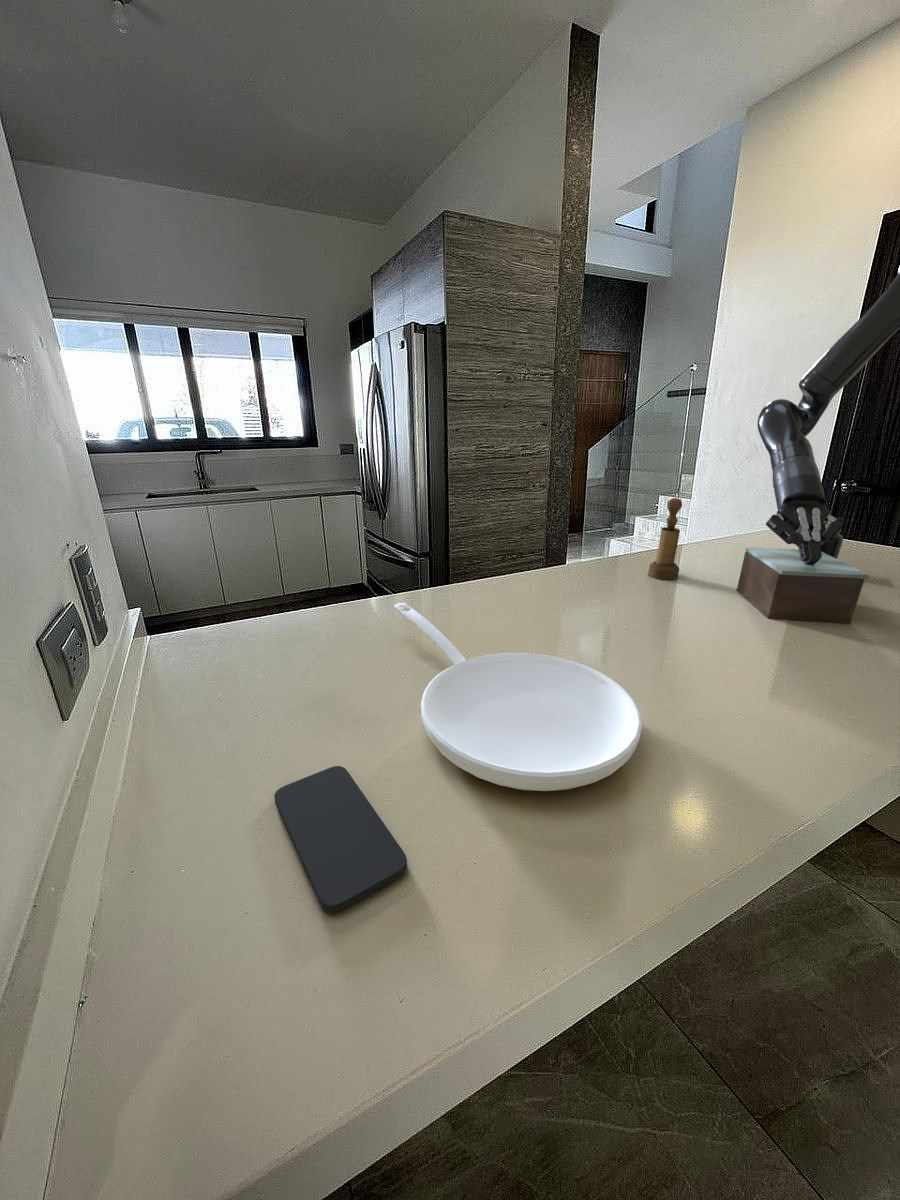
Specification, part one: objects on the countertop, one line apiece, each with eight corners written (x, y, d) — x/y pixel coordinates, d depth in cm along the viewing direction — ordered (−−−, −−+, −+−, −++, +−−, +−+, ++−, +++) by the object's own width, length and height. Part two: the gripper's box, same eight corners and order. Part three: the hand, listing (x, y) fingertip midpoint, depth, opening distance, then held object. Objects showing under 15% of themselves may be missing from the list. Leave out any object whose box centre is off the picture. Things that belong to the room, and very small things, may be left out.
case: (850, 623, 86) (865, 577, 83) (767, 618, 88) (779, 573, 85) (806, 594, 100) (817, 553, 97) (736, 590, 103) (745, 550, 100)
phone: (342, 762, 51) (413, 863, 39) (343, 768, 51) (413, 871, 39) (270, 791, 47) (325, 912, 35) (271, 797, 47) (326, 920, 35)
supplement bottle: (798, 572, 115) (811, 522, 110) (798, 565, 120) (811, 517, 116) (833, 577, 111) (849, 526, 107) (832, 570, 116) (847, 521, 112)
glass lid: (868, 578, 82) (869, 574, 82) (781, 574, 85) (782, 570, 84) (818, 553, 97) (819, 550, 97) (745, 550, 100) (746, 547, 99)
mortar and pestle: (671, 581, 108) (685, 501, 102) (643, 576, 112) (655, 498, 106) (681, 575, 113) (695, 498, 106) (654, 569, 117) (666, 495, 110)
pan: (517, 852, 41) (521, 794, 39) (329, 656, 75) (325, 619, 73) (684, 746, 54) (694, 698, 52) (460, 620, 88) (460, 588, 86)
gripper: (769, 472, 92) (782, 550, 85) (846, 473, 90) (866, 553, 83) (751, 496, 99) (763, 570, 92) (823, 498, 96) (840, 574, 89)
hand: (812, 562), depth 87 cm, fingers closed
